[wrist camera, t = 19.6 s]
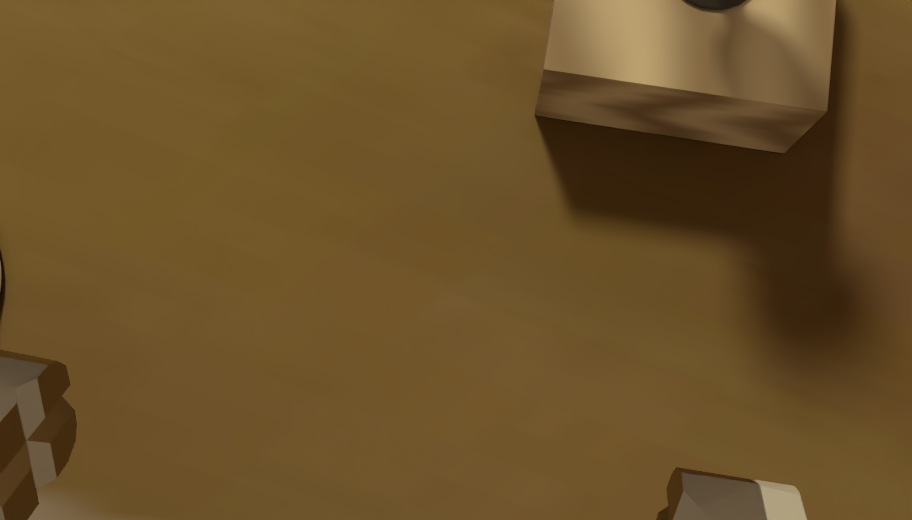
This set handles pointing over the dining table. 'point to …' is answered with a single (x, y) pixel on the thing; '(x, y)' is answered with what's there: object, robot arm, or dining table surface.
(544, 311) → the dining table surface
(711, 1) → the sundae
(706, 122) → the block
